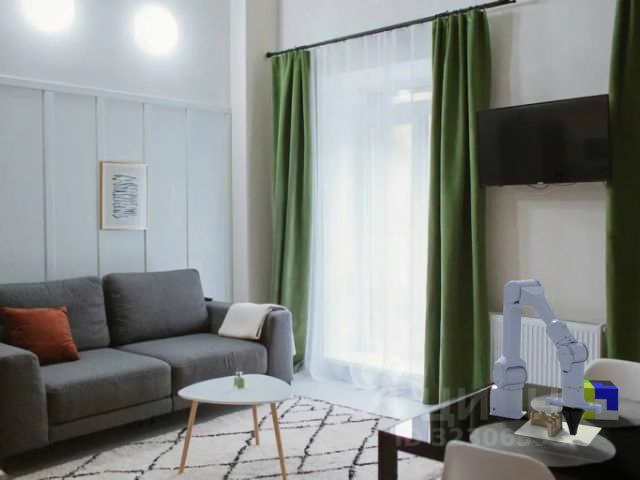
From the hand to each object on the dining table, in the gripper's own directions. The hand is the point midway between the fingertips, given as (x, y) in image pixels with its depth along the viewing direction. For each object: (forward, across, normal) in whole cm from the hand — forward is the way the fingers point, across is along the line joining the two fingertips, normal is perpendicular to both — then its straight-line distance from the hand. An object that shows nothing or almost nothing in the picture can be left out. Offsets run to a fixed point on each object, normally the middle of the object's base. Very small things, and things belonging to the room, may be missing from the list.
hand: (573, 434), depth 181 cm
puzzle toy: (+2, 0, -27) cm, 27 cm away
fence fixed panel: (+1, +10, -7) cm, 12 cm away
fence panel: (+1, +6, -2) cm, 6 cm away
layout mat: (+2, +6, -5) cm, 8 cm away
